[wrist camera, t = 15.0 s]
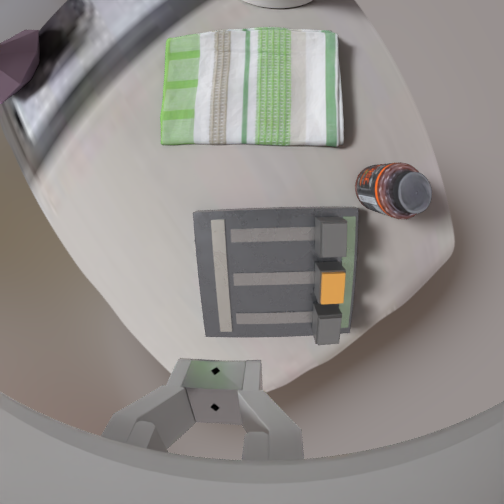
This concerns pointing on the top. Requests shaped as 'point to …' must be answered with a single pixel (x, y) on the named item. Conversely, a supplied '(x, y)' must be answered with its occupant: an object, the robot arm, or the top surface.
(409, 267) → the top surface
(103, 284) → the top surface
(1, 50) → the flask
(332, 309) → the block
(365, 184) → the supplement bottle
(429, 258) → the top surface
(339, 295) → the breaker mid
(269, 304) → the panel
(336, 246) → the block
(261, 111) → the dish towel
